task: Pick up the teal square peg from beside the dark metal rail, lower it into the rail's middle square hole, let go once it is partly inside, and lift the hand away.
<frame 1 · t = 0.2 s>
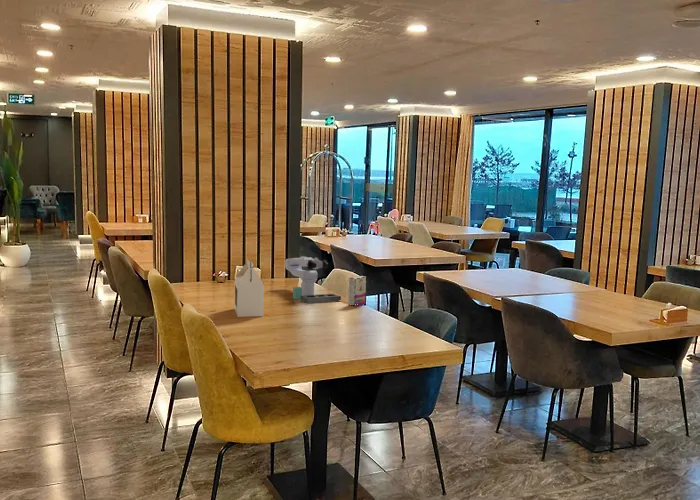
hand: (321, 265, 378), 21 cm above the table, tool horizontal, fingers open, 7 cm apart
square peg: (297, 298, 383), on the table
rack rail: (320, 300, 379), on the table
candy bar box: (356, 304, 371), on the table
gable box: (248, 312, 338), on the table
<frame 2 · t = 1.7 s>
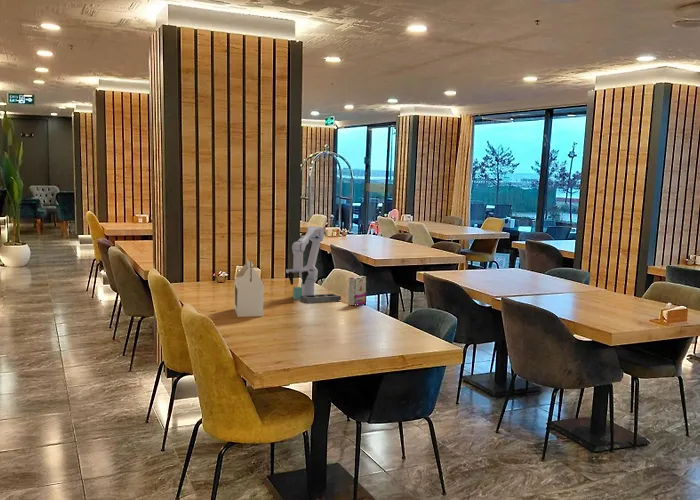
hand: (297, 284, 382), 9 cm above the table, tool pointing down, fingers open, 7 cm apart
nothing on the table moved.
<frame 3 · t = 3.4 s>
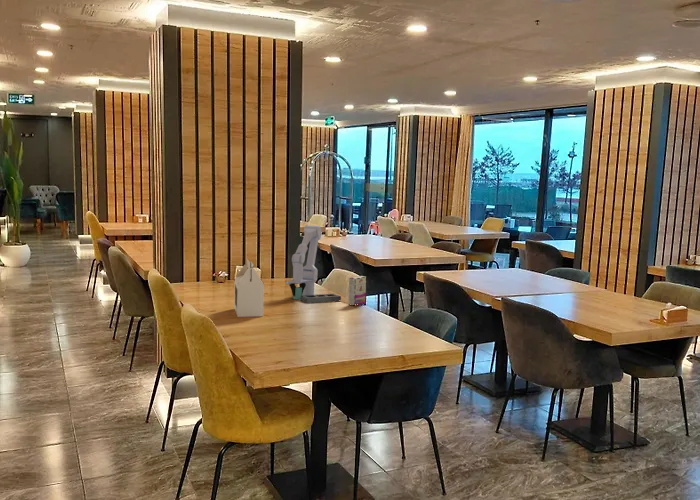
hand: (297, 295, 383), 2 cm above the table, tool pointing down, fingers closed on square peg, 4 cm apart
square peg: (297, 298, 383), on the table, touching gripper
everything else where it was.
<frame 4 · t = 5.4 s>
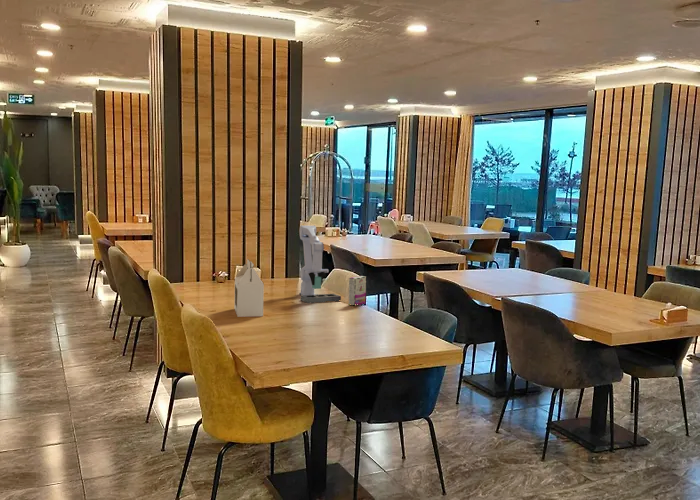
hand: (316, 284, 379), 9 cm above the table, tool pointing down, fingers closed on square peg, 4 cm apart
square peg: (316, 288, 379), point 7 cm above the table, touching gripper
everything else where it was.
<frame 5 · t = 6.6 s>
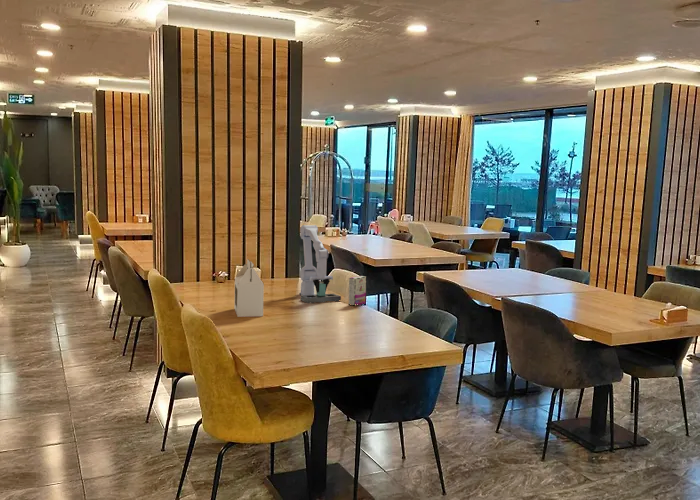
hand: (320, 291, 379), 5 cm above the table, tool pointing down, fingers closed on square peg, 4 cm apart
square peg: (320, 295, 379), point 3 cm above the table, touching gripper
everything else where it was.
when the fingers open (3 cm above the table, at t = 7.5 s): square peg drops 1 cm, resting in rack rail.
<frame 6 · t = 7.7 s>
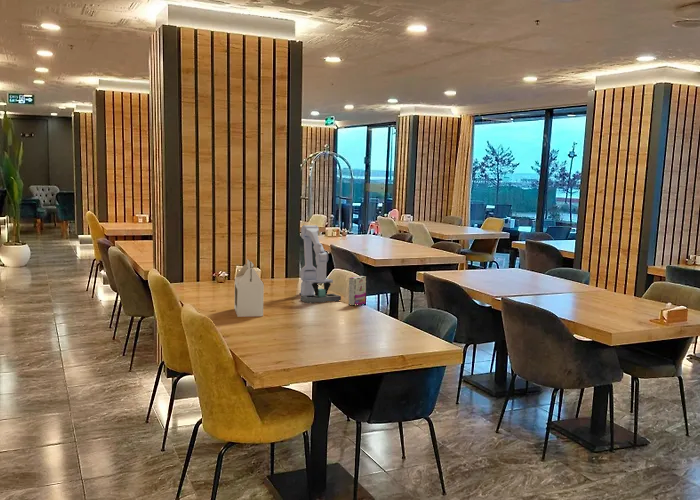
hand: (320, 295, 379), 3 cm above the table, tool pointing down, fingers open, 5 cm apart
square peg: (320, 300, 379), resting in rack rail
everything else where it was.
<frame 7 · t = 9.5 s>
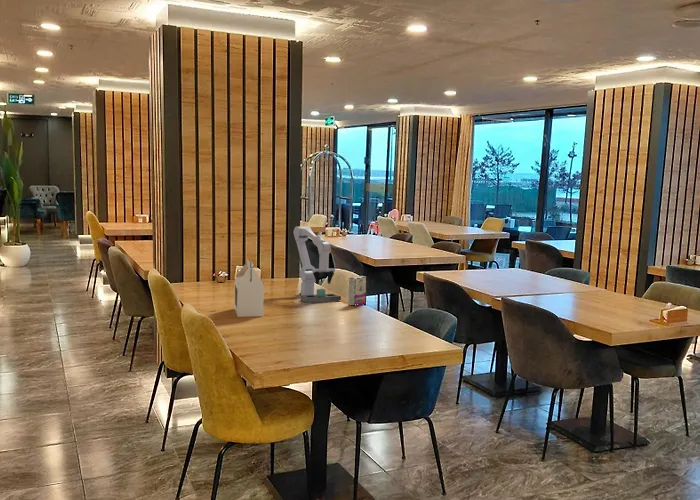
hand: (323, 283, 384), 9 cm above the table, tool pointing down, fingers open, 7 cm apart
nothing on the table moved.
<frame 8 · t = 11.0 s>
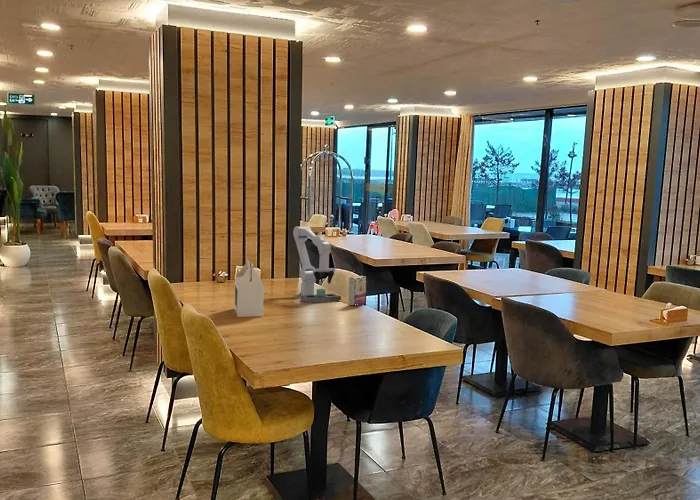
hand: (323, 283, 385), 9 cm above the table, tool pointing down, fingers open, 7 cm apart
nothing on the table moved.
at the end: square peg 0.1 cm off-centre on the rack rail, point 0.0 cm above the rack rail's base; square peg tilted 0°; the gripper is holding nothing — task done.
